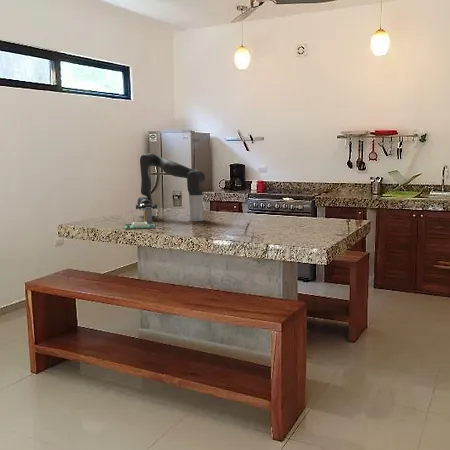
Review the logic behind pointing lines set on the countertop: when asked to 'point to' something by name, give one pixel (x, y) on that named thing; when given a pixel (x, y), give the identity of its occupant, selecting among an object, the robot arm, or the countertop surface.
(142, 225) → the mount board
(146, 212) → the plug
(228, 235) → the countertop surface
